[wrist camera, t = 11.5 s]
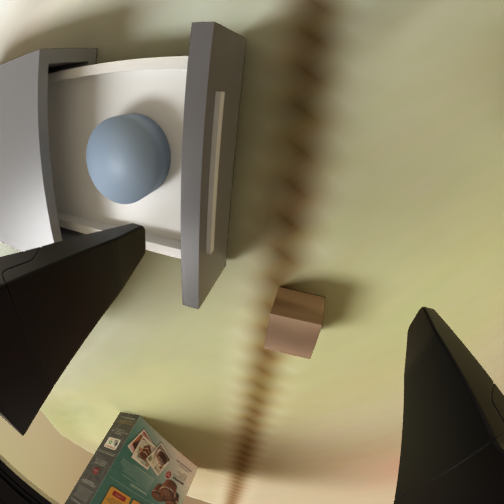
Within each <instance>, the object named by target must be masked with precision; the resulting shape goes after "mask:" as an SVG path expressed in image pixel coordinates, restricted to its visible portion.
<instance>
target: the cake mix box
mask: <svg viewBox="0 0 504 504" xmlns="http://www.w3.org/2000/svg"><path fill="white" fill-rule="evenodd" d="M197 469H198V467H197V466H196V465H195V464H193V463H192V462H191V461H190V460H188V459H187V458H186V457H185V456H184V455H182V454H181V453H180V452H179V451H178V450H177V449H176V448H174V447H173V446H172V445H171V444H170V443H169V442H168V441H166V440H165V439H164V438H163V437H162V436H161V435H160V434H159V433H158V432H157V431H156V430H155V429H153V428H152V427H151V426H150V425H149V424H148V423H147V422H146V421H145V420H144V419H143V418H142V417H141V416H139V415H133V414H127V413H122V412H120V414H119V415H118V417H117V418H116V420H115V422H114V423H113V425H112V426H111V428H110V430H109V431H108V433H107V435H106V436H105V438H104V439H103V441H102V443H101V444H100V446H99V448H98V449H97V451H96V452H95V454H94V456H93V458H92V459H91V461H90V462H89V464H88V466H87V467H86V469H85V471H84V472H83V474H82V476H81V477H80V479H79V481H78V482H77V484H76V486H75V487H74V489H73V491H72V492H71V494H70V496H69V498H68V499H67V501H66V503H65V504H183V501H184V499H185V497H186V495H187V492H188V490H189V488H190V485H191V483H192V481H193V478H194V476H195V474H196V471H197Z"/></svg>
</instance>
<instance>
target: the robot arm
mask: <svg viewBox="0 0 504 504" xmlns="http://www.w3.org/2000/svg"><path fill="white" fill-rule="evenodd" d="M145 250H146V238H145V228H144V227H143V226H142V225H138V224H135V223H131V224H127V225H123V226H119V227H114V228H110V229H106V230H102V231H98V232H94V233H90V234H86V235H82V236H78V237H74V238H70V239H67V240H63V241H59V242H55V243H52V244H48V245H44V246H42V247H37V248H34V249H30V250H26V251H23V252H19V253H15V254H11V255H7V256H3V257H0V415H1V416H2V417H3V418H4V419H5V420H6V421H7V422H8V423H9V424H10V425H11V426H12V427H13V428H15V429H16V430H17V431H18V432H19V433H20V434H21V435H24V434H25V433H26V431H27V430H28V428H29V426H30V424H31V423H32V421H33V419H34V418H35V416H36V414H37V413H38V411H39V409H40V408H41V406H42V405H43V403H44V401H45V400H46V398H47V397H48V395H49V393H50V392H51V390H52V389H53V387H54V385H55V384H56V382H57V381H58V379H59V378H60V376H61V375H62V373H63V371H64V370H65V368H66V367H67V365H68V364H69V363H70V361H71V360H72V358H73V357H74V355H75V354H76V352H77V351H78V349H79V348H80V346H81V345H82V344H83V342H84V341H85V339H86V338H87V337H88V335H89V334H90V332H91V331H92V330H93V328H94V327H95V325H96V324H97V323H98V321H99V320H100V319H101V317H102V316H103V314H104V313H105V312H106V310H107V309H108V308H109V306H110V305H111V304H112V302H113V301H114V300H115V298H116V297H117V296H118V294H119V293H120V292H121V290H122V289H123V287H124V286H125V284H126V283H127V281H128V280H129V278H130V276H131V275H132V273H133V271H134V270H135V268H136V267H137V265H138V264H139V262H140V260H141V259H142V257H143V256H144V254H145ZM0 504H59V503H57V502H56V501H55V500H53V499H52V498H51V497H49V496H48V495H47V494H45V493H44V492H43V491H41V490H40V489H39V488H38V487H36V486H35V485H34V484H33V483H32V482H30V481H29V480H28V479H27V478H25V477H24V476H23V475H22V474H21V473H20V472H19V471H18V470H16V469H15V468H14V467H13V466H12V465H11V464H10V463H9V462H8V461H7V460H6V459H5V458H3V457H2V456H1V455H0ZM394 504H504V395H503V394H502V393H501V391H500V390H499V389H498V387H497V386H496V384H493V381H492V379H491V378H490V377H489V375H488V374H487V373H486V371H485V370H484V369H483V368H482V366H481V365H480V364H479V362H478V361H477V360H476V359H475V357H474V356H473V355H472V354H471V352H470V351H469V350H468V349H467V348H466V346H465V345H464V344H463V343H462V341H461V340H460V339H459V338H458V337H457V335H456V334H455V333H454V332H453V331H452V330H451V328H450V327H449V326H448V325H447V324H446V323H445V321H444V320H443V319H442V318H441V317H440V316H439V315H438V313H437V312H436V311H435V310H434V309H431V308H427V307H422V308H421V309H420V310H419V311H418V313H417V315H416V316H415V318H414V320H413V321H412V323H411V325H410V327H409V329H408V336H407V350H406V361H405V372H404V412H403V430H402V444H401V455H400V464H399V473H398V480H397V487H396V494H395V500H394Z"/></svg>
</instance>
